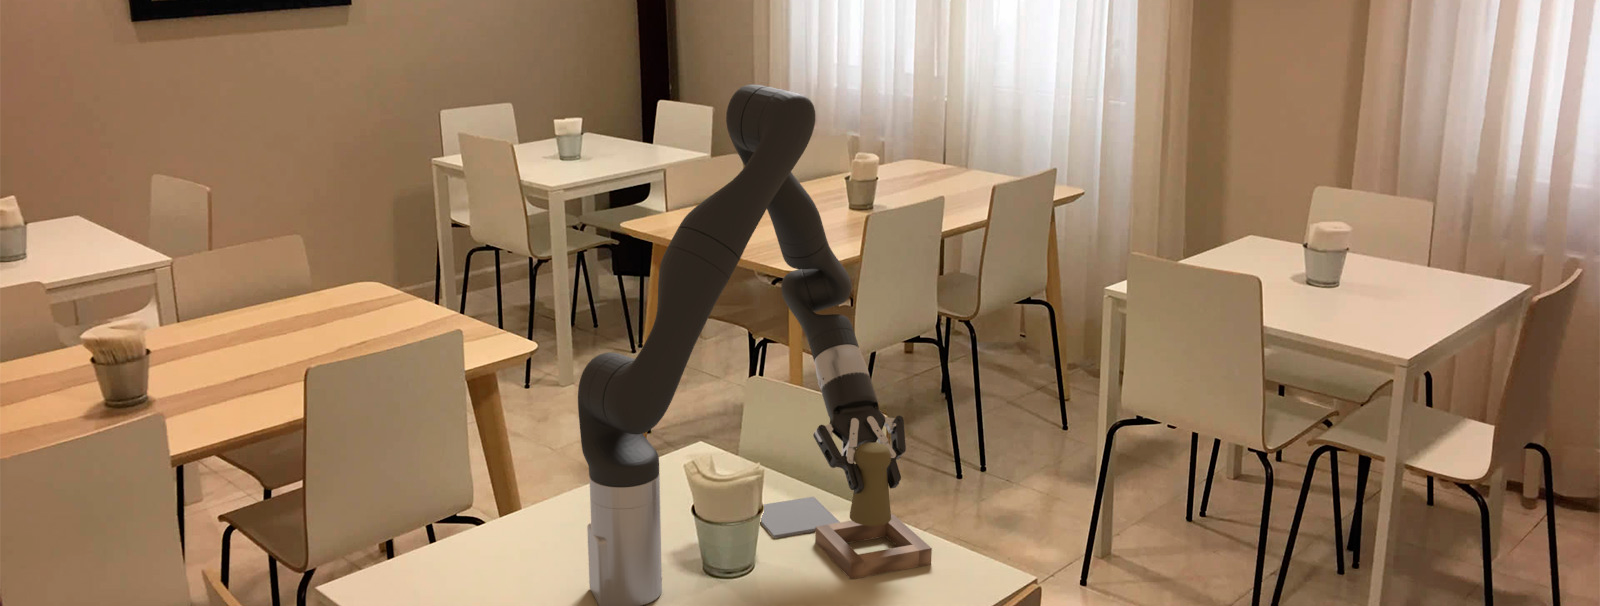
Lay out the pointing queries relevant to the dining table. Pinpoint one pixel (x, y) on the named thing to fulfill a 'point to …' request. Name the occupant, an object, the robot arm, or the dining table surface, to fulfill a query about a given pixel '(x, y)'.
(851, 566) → the walnut board
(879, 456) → the cork
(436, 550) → the dining table surface
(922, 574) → the dining table surface
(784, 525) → the slate mat
